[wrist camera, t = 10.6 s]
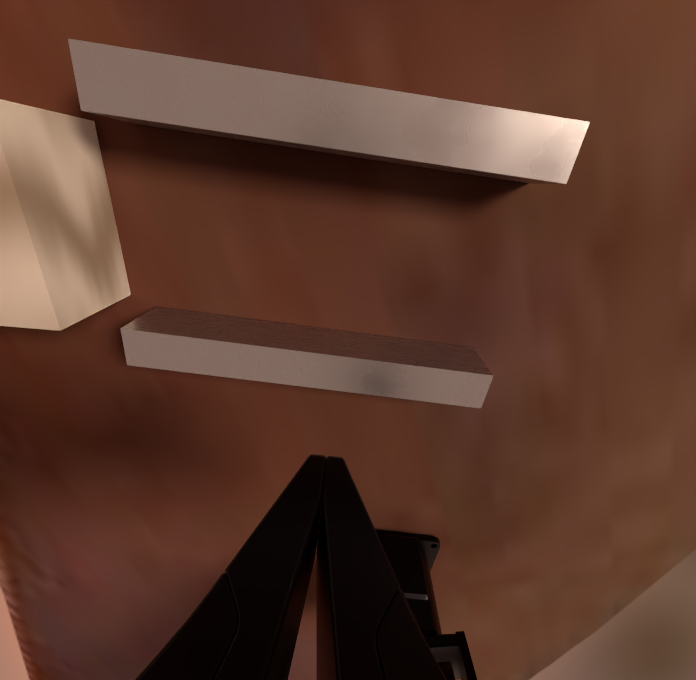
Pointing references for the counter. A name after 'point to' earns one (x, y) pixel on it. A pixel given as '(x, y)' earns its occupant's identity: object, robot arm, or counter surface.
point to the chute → (329, 137)
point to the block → (54, 221)
